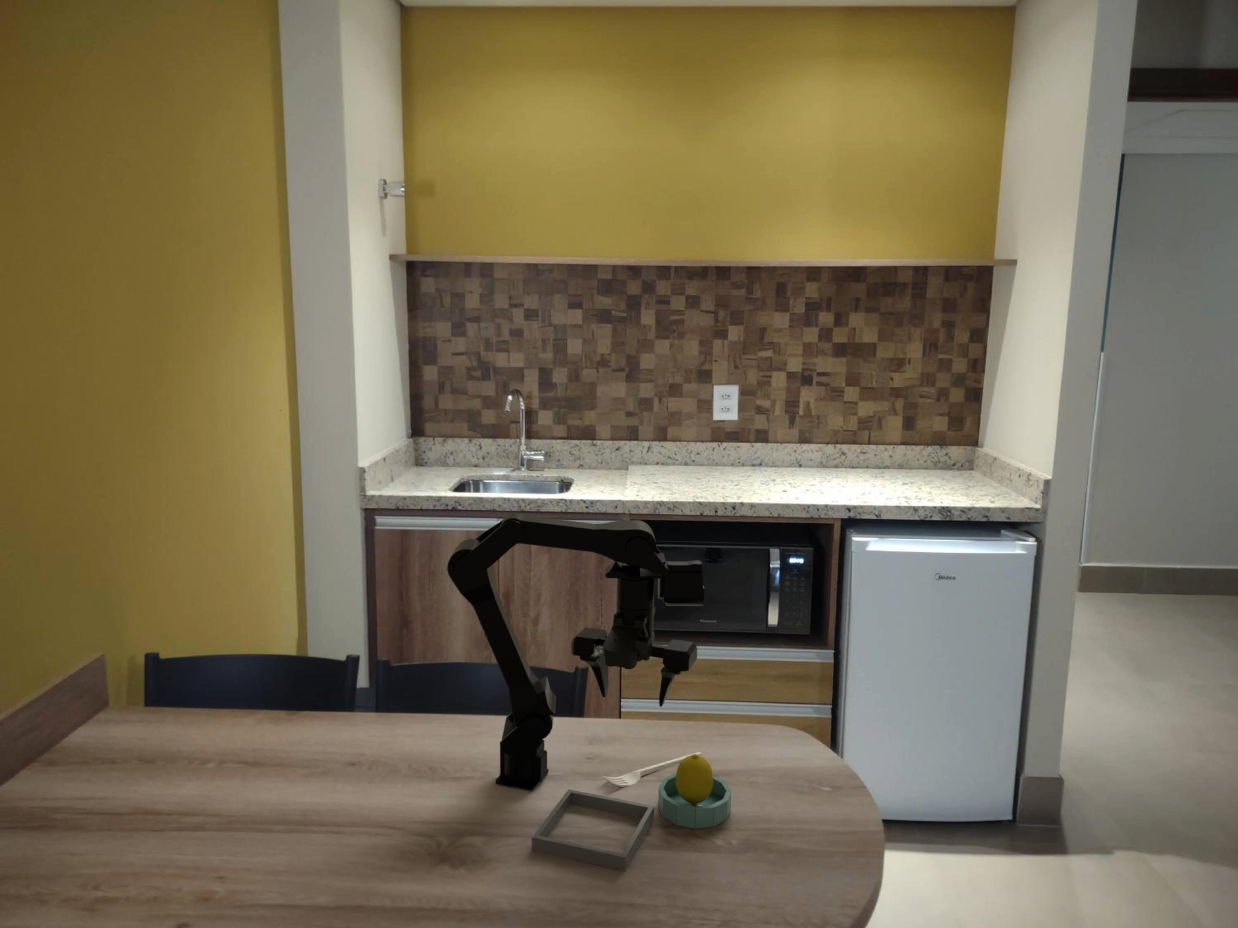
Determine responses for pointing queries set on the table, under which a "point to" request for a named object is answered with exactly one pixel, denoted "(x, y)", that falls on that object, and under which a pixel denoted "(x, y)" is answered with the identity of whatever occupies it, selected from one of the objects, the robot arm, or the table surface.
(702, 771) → the lemon
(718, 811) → the bowl
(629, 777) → the fork
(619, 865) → the parts tray
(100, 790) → the table surface
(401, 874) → the table surface
